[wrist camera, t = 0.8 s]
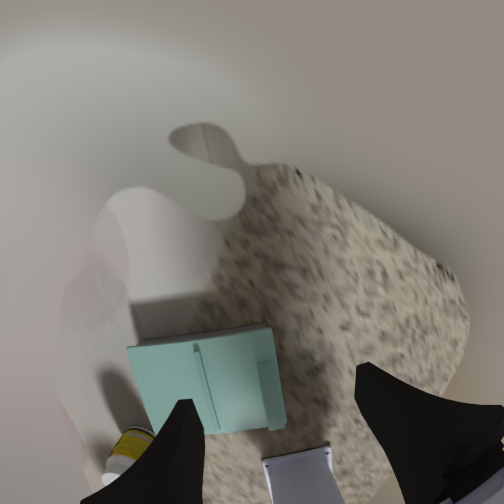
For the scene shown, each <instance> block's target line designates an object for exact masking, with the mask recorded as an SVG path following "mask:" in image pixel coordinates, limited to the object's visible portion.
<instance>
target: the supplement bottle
mask: <svg viewBox="0 0 504 504" xmlns="http://www.w3.org/2000/svg"><path fill="white" fill-rule="evenodd" d="M155 437H156V435H155V434H154V433H153V432H152V431H150V430H148V429H146V428H143V427H139V426H132V427H129V428H127V429H126V430H125V431H124V432H123V434H122V436H121V437H120V439H119V440H118V442H117V444H116V445H115V447H114V449H113V450H112V452H111V453H110V455H109V456H108V458H107V460H106V468H105V470H104V472H103V474H102V482H103V483H104V485H105V486H107V485H108V484H110V483H111V482H113V481H114V480H115V479H117V478H118V477H119V476H120V475H121V474H123V473H124V472H125V471H126V470H127V469H128V468H129V467H130V466H131V465H132V464H133V463H134V462H135V461H136V460H137V459H138V458H139V457H140V456H141V455H142V453H143V452H144V451H145V450H146V449H147V447H148V446H149V445H150V443H151V442H152V441H153V439H154V438H155Z"/></svg>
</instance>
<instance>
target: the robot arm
mask: <svg viewBox="0 0 504 504" xmlns="http://www.w3.org/2000/svg"><path fill="white" fill-rule="evenodd" d="M354 398H355V400H356V403H357V405H358V408H359V410H360V412H361V414H362V416H363V418H364V419H365V421H366V423H367V424H368V426H369V427H370V429H371V431H372V432H373V434H374V435H375V437H376V438H377V440H378V442H379V443H380V445H381V446H382V448H383V450H384V452H385V453H386V455H387V458H388V460H389V462H390V464H391V466H392V469H393V471H394V473H395V476H396V478H397V481H398V483H399V486H400V489H401V491H402V494H403V497H404V501H405V504H504V451H503V450H502V448H503V447H504V444H503V443H502V442H501V440H502V438H503V437H504V407H503V406H502V405H477V404H468V403H462V402H457V401H453V400H448V399H444V398H441V397H438V396H435V395H432V394H429V393H427V392H424V391H422V390H419V389H417V388H415V387H413V386H411V385H409V384H407V383H405V382H403V381H401V380H399V379H397V378H395V377H394V376H392V375H390V374H389V373H387V372H385V371H383V370H382V369H380V368H378V367H377V366H375V365H373V364H372V363H370V362H366V363H363V364H360V365H357V366H356V382H355V395H354ZM326 452H328V453H326ZM204 457H205V435H204V427H203V425H202V422H201V420H200V417H199V415H198V412H197V410H196V407H195V405H194V402H193V400H192V398H191V399H180V400H178V401H177V402H176V404H175V406H174V408H173V409H172V411H171V413H170V415H169V416H168V418H167V420H166V421H165V423H164V424H163V426H162V427H161V429H160V431H159V432H158V434H157V435H156V437H155V438H154V439H153V441H152V442H151V443H150V445H149V446H148V447H147V449H146V450H145V451H144V452H143V453H142V455H141V456H140V457H139V458H138V459H137V460H136V461H135V462H134V463H133V464H132V465H131V466H130V467H129V468H128V469H127V470H126V471H125V472H124V473H123V474H121V475H120V476H119V477H118V478H117V479H115V480H114V481H113V482H111V483H110V484H108V485H107V486H105V487H104V488H102V489H101V490H99V491H98V492H96V493H94V494H92V495H90V496H89V497H86V498H85V499H82V500H81V502H80V504H203V500H202V484H203V470H204ZM262 465H263V469H264V473H265V477H266V481H267V485H268V489H269V493H270V496H271V500H272V503H273V504H345V502H344V500H343V498H342V495H341V493H340V491H339V488H338V486H337V484H336V482H335V479H334V477H333V473H332V449H331V447H330V446H324V447H320V448H316V449H312V450H308V451H304V452H299V453H295V454H290V455H285V456H280V457H274V458H268V459H264V460H263V461H262ZM266 465H268V466H266Z"/></svg>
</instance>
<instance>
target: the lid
mask: <svg viewBox="0 0 504 504" xmlns="http://www.w3.org/2000/svg"><path fill="white" fill-rule="evenodd" d="M126 350H127V354H128V357H129V361H130V364H131V367H132V371H133V374H134V377H135V380H136V383H137V386H138V389H139V392H140V395H141V398H142V401H143V404H144V407H145V409H146V412H147V415H148V417H149V420H150V423H151V425H152V428H153V430H154V433H155V435H157V434H158V432H159V431H160V429H161V427H162V426H163V424H164V423H165V421H166V420H167V418H168V416H169V415H170V413H171V411H172V409H173V408H174V406H175V404H176V402H177V401H178V400H180V399H191V398H192V400H193V402H194V405H195V407H196V410H197V412H198V415H199V417H200V420H201V422H202V425H203V427H204V435H209V434H220V433H229V432H238V431H245V430H252V429H259V428H265V427H268V428H269V431H273V430H279V429H284V428H285V424H286V423H287V418H286V412H285V405H284V399H283V393H282V387H281V381H280V375H279V369H278V362H277V356H276V350H275V344H274V338H273V332H272V328H271V327H268V328H263V329H257V330H252V331H246V332H240V333H234V334H227V335H221V336H214V337H207V338H200V339H193V340H185V341H177V342H168V343H159V344H149V345H139V346H128V347H127V348H126Z"/></svg>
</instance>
